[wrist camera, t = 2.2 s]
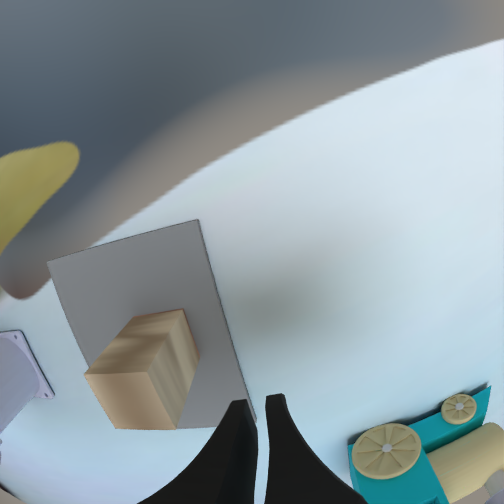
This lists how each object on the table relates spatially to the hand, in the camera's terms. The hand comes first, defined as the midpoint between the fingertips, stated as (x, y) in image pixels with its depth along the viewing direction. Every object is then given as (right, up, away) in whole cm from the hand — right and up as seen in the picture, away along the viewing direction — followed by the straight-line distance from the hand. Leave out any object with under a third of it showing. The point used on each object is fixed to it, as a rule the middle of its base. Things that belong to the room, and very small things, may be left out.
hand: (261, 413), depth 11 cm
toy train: (+17, -12, +12) cm, 24 cm away
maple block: (-7, +1, +9) cm, 11 cm away
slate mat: (-8, -1, +10) cm, 13 cm away
